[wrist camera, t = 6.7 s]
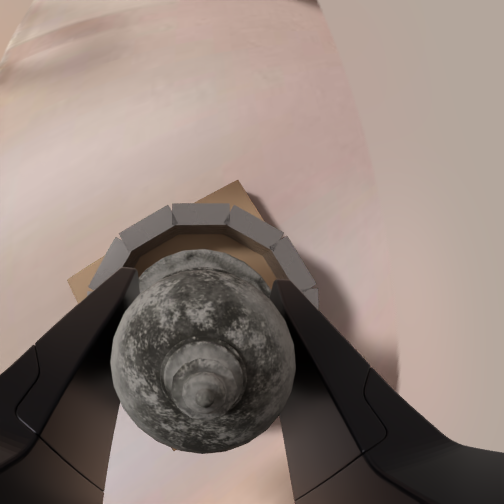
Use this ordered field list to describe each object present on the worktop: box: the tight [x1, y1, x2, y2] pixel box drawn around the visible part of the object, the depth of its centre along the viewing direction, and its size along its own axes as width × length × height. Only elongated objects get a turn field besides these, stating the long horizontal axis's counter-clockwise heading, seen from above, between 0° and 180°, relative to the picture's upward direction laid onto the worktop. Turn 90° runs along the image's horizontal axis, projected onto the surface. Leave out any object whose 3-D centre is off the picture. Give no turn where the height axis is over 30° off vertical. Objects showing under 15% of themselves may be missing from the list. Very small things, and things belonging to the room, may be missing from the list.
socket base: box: [67, 180, 319, 451], centre depth 15 cm, size 11×11×3 cm
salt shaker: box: [110, 249, 296, 454], centre depth 8 cm, size 6×6×12 cm
